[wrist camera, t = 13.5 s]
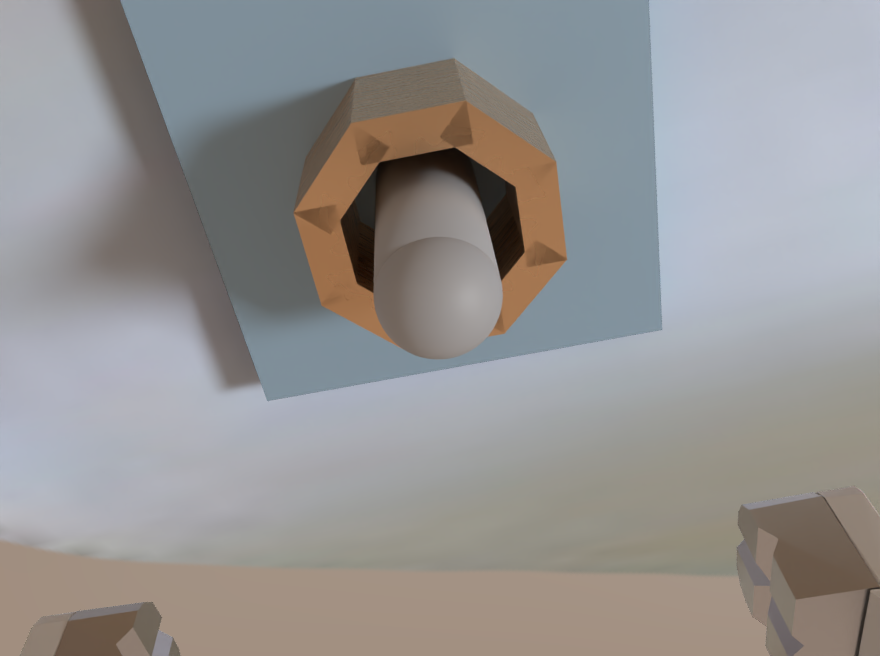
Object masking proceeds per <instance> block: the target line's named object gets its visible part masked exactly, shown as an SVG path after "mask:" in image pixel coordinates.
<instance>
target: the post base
mask: <svg viewBox="0 0 880 656" xmlns="http://www.w3.org/2000/svg"><path fill="white" fill-rule="evenodd" d="M120 1H121V4H122V6H123V9H124V12H125V14H126V17H127V20H128V23H129V25H130V28H131V31H132V34H133V36H134V39H135V42H136V44H137V47H138V50H139V53H140V55H141V58H142V61H143V64H144V66H145V69H146V72H147V74H148V77H149V80H150V83H151V85H152V88H153V91H154V93H155V96H156V99H157V102H158V104H159V107H160V110H161V113H162V115H163V118H164V121H165V123H166V126H167V129H168V132H169V134H170V137H171V140H172V142H173V145H174V148H175V151H176V153H177V156H178V159H179V162H180V164H181V167H182V170H183V172H184V175H185V178H186V181H187V183H188V186H189V189H190V192H191V194H192V197H193V200H194V202H195V205H196V208H197V211H198V213H199V216H200V219H201V221H202V224H203V227H204V230H205V232H206V235H207V238H208V241H209V243H210V246H211V249H212V251H213V254H214V257H215V260H216V262H217V265H218V268H219V270H220V273H221V276H222V279H223V281H224V284H225V287H226V290H227V292H228V295H229V298H230V300H231V303H232V306H233V309H234V311H235V314H236V317H237V319H238V322H239V325H240V328H241V330H242V333H243V336H244V339H245V341H246V344H247V347H248V349H249V352H250V355H251V358H252V360H253V363H254V366H255V369H256V371H257V374H258V377H259V379H260V382H261V385H262V388H263V390H264V393H265V396H266V398H267V401H270V400H276V399H282V398H287V397H293V396H298V395H304V394H309V393H315V392H320V391H326V390H331V389H337V388H343V387H348V386H354V385H359V384H365V383H370V382H376V381H381V380H387V379H392V378H398V377H404V376H409V375H415V374H420V373H426V372H431V371H437V370H442V369H448V368H453V367H459V366H464V365H470V364H476V363H481V362H487V361H492V360H498V359H503V358H509V357H514V356H520V355H525V354H531V353H537V352H542V351H548V350H553V349H559V348H564V347H570V346H575V345H581V344H586V343H592V342H598V341H603V340H609V339H614V338H620V337H625V336H631V335H636V334H642V333H647V332H653V331H659V330H662V314H661V289H660V264H659V240H658V215H657V190H656V166H655V141H654V117H653V92H652V67H651V43H650V18H649V0H120ZM452 58H454V59H456V60H457V61H459V62H460V63H462V64H463V65H464V66H466V67H467V68H469V69H470V70H472V71H473V72H475V73H476V74H477V75H479V76H480V77H482V78H483V79H485V80H486V81H487V82H489V83H490V84H492V85H493V86H495V87H496V88H497V89H499V90H500V91H502V92H503V93H505V94H506V95H508V96H509V97H510V98H512V99H513V100H515V101H516V102H518V103H519V104H520V105H522V106H523V107H525V108H526V109H528V110H529V111H530V112H532V113H533V115H534V117H535V119H536V121H537V123H538V125H539V127H540V129H541V131H542V133H543V135H544V137H545V139H546V141H547V144H548V146H549V148H550V150H551V152H552V154H553V156H554V158H555V160H556V162H557V163H556V164H557V173H558V182H559V191H560V200H561V208H562V217H563V226H564V235H565V244H566V253H567V260H566V261H565V263H564V264H563V265H562V266H561V267H560V269H559V270H558V271H557V272H556V273H555V275H554V276H553V277H552V278H551V279H550V280H549V282H548V283H547V284H546V285H545V286H544V288H543V289H542V290H541V291H540V292H539V294H538V295H537V296H536V297H535V298H534V299H533V301H532V302H531V303H530V304H529V305H528V307H527V308H526V309H525V310H524V311H523V312H522V314H521V315H520V316H519V317H518V318H517V320H516V321H515V322H514V323H513V324H512V326H511V327H510V328H509V329H508V330H507V331H506V333H505V334H500V335H495V336H489V337H488V335H489V334H490V333H491V331H492V330H493V328H494V326H495V325H496V323H497V320H498V318H499V315H500V312H501V307H502V300H503V291H502V282H501V278H500V274H499V270H498V266H497V262H496V258H495V254H494V250H493V246H492V242H491V238H490V234H489V230H488V226H487V222H486V219H487V218H488V217H489V215H490V214H491V213H492V211H493V210H494V209H495V207H496V206H497V205H498V204H499V202H500V201H501V200H502V198H503V197H504V196H505V194H506V189H505V182H504V179H503V178H501V177H500V176H498V175H497V174H495V173H493V172H492V171H490V170H489V169H487V168H486V167H484V166H483V165H481V164H480V163H478V162H477V161H475V160H474V159H472V158H470V157H469V156H467V155H466V154H464V153H463V152H461V151H460V150H458V149H457V148H455V147H454V148H449V149H444V150H438V151H433V152H428V153H423V154H418V155H413V156H408V157H403V158H398V159H392V160H387V161H382V162H379V164H378V165H377V167H376V168H375V170H374V171H373V172H372V174H371V175H370V177H369V178H368V180H367V181H366V183H365V184H364V186H363V187H362V189H361V190H360V192H359V193H358V195H357V196H356V198H355V202H356V206H357V210H358V214H359V218H360V222H362V223H364V224H365V225H367V226H369V227H371V228H372V229H374V230H375V246H374V305H375V311H376V314H377V317H378V320H379V322H380V324H381V326H382V328H383V329H384V331H385V332H386V334H387V335H388V336H389V337H390V338H391V340H392V341H393V342H394V343H396V344H397V345H398V346H399V347H398V346H396V345H394V344H392V343H390V342H389V341H387V340H385V339H383V338H381V337H379V336H377V335H376V334H374V333H372V332H370V331H368V330H366V329H364V328H362V327H361V326H359V325H357V324H355V323H353V322H351V321H349V320H348V319H346V318H344V317H342V316H340V315H338V314H336V313H334V312H333V311H331V310H329V309H327V308H325V307H323V306H321V302H320V299H319V295H318V292H317V289H316V286H315V282H314V279H313V276H312V272H311V269H310V266H309V262H308V259H307V256H306V252H305V249H304V246H303V243H302V239H301V236H300V233H299V229H298V226H297V223H296V219H295V216H294V213H293V212H294V208H295V203H296V199H297V194H298V190H299V185H300V181H301V176H302V172H303V167H304V163H305V158H306V156H307V155H308V153H309V152H310V150H311V148H312V147H313V145H314V144H315V142H316V140H317V139H318V137H319V136H320V134H321V133H322V131H323V129H324V128H325V126H326V125H327V123H328V121H329V120H330V118H331V117H332V115H333V113H334V112H335V110H336V109H337V107H338V105H339V104H340V102H341V101H342V99H343V98H344V96H345V94H346V93H347V91H348V90H349V88H350V86H351V85H352V83H353V82H354V80H355V78H357V77H362V76H367V75H372V74H377V73H382V72H387V71H392V70H397V69H402V68H407V67H412V66H417V65H422V64H427V63H432V62H437V61H442V60H447V59H452ZM400 347H401V348H400Z"/></svg>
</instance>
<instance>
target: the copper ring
mask: <svg viewBox="0 0 880 656" xmlns="http://www.w3.org/2000/svg"><path fill="white" fill-rule="evenodd" d="M454 147H455V148H457V149H458V150H460V151H461V152H463V153H464V154H466V155H467V156H469V157H470V158H472V159H474V160H475V161H477V162H478V163H480V164H481V165H483V166H484V167H486V168H487V169H489V170H490V171H492V172H493V173H495V174H497V175H498V176H500V177H501V178H503V179H504V182H505V189H506V194H505V196H504V197H503V198H502V200H501V201H500V202H499V204H498V205H497V206H496V207H495V209H494V210H493V211H492V213H491V214H490V215H489V217H488V218H487V219H486V222H487V226H488V230H489V234H490V238H491V242H492V246H493V250H494V254H495V258H496V262H497V266H498V270H499V274H500V278H501V282H502V291H503V300H502V307H501V312H500V315H499V318H498V320H497V323H496V325H495V326H494V328H493V330H492V331H491V333H490V334H489V335H488V337H489V336H495V335H500V334H505V333H506V331H507V330H508V329H509V328H510V327H511V326H512V324H513V323H514V322H515V321H516V320H517V318H518V317H519V316H520V315H521V314H522V312H523V311H524V310H525V309H526V308H527V307H528V305H529V304H530V303H531V302H532V301H533V299H534V298H535V297H536V296H537V295H538V294H539V292H540V291H541V290H542V289H543V288H544V286H545V285H546V284H547V283H548V282H549V280H550V279H551V278H552V277H553V276H554V275H555V273H556V272H557V271H558V270H559V269H560V267H561V266H562V265H563V264H564V263H565V261H566V260H567V253H566V244H565V235H564V226H563V217H562V208H561V200H560V191H559V182H558V173H557V164H556V163H557V162H556V160H555V158H554V156H553V154H552V152H551V150H550V148H549V146H548V144H547V141H546V139H545V137H544V135H543V133H542V131H541V129H540V127H539V125H538V123H537V121H536V119H535V117H534V115H533V113H532V112H530V111H529V110H528V109H526V108H525V107H523V106H522V105H520V104H519V103H518V102H516V101H515V100H513V99H512V98H510V97H509V96H508V95H506V94H505V93H503V92H502V91H500V90H499V89H497V88H496V87H495V86H493V85H492V84H490V83H489V82H487V81H486V80H485V79H483V78H482V77H480V76H479V75H477V74H476V73H475V72H473V71H472V70H470V69H469V68H467V67H466V66H464V65H463V64H462V63H460V62H459V61H457V60H456V59H454V58H452V59H447V60H442V61H437V62H432V63H427V64H422V65H417V66H412V67H407V68H402V69H397V70H392V71H387V72H382V73H377V74H372V75H367V76H362V77H357V78H355V80H354V82H353V83H352V85H351V86H350V88H349V90H348V91H347V93H346V94H345V96H344V98H343V99H342V101H341V102H340V104H339V105H338V107H337V109H336V110H335V112H334V113H333V115H332V117H331V118H330V120H329V121H328V123H327V125H326V126H325V128H324V129H323V131H322V133H321V134H320V136H319V137H318V139H317V140H316V142H315V144H314V145H313V147H312V148H311V150H310V152H309V153H308V155H307V156H306V158H305V163H304V167H303V172H302V176H301V181H300V185H299V190H298V194H297V199H296V203H295V208H294V212H293V213H294V216H295V219H296V223H297V226H298V229H299V233H300V236H301V239H302V243H303V246H304V249H305V252H306V256H307V259H308V262H309V266H310V269H311V272H312V276H313V279H314V282H315V286H316V289H317V292H318V295H319V299H320V302H321V306H323V307H325V308H327V309H329V310H331V311H333V312H334V313H336V314H338V315H340V316H342V317H344V318H346V319H348V320H349V321H351V322H353V323H355V324H357V325H359V326H361V327H362V328H364V329H366V330H368V331H370V332H372V333H374V334H376V335H377V336H379V337H381V338H383V339H385V340H387V341H389V342H390V343H392V344H394V345H396V346H398V345H397V344H396V343H394V342H393V341H392V340H391V338H390V337H389V336H388V335H387V334H386V332H385V331H384V329H383V328H382V326H381V324H380V322H379V320H378V317H377V314H376V311H375V305H374V246H375V230H374V229H372V228H371V227H369V226H367V225H365V224H364V223H362V222H360V218H359V214H358V210H357V206H356V202H355V198H356V196H357V195H358V193H359V192H360V190H361V189H362V187H363V186H364V184H365V183H366V181H367V180H368V178H369V177H370V175H371V174H372V172H373V171H374V170H375V168H376V167H377V165H378V164H379V162H382V161H387V160H392V159H398V158H403V157H408V156H413V155H418V154H423V153H428V152H433V151H438V150H444V149H449V148H454ZM398 347H399V346H398ZM400 348H401V347H400Z"/></svg>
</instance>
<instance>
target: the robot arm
mask: <svg viewBox="0 0 880 656" xmlns="http://www.w3.org/2000/svg"><path fill="white" fill-rule="evenodd" d="M738 526H739V529H740V531H741V533H742V535H743V537H744V540H743V541H742V542H741V543H740V545H739V546H738V547H737V570H738V575H739V581H740V586H741V588H742V592H743V595H744V598H745V601H746V603H747V605H748V608H749V610H750V612H751V614H752V617H754V618H755V619H757V620H758V621H759V622H761V623H762V624H764V625H765V626H767V631H766V648H767V650H768V652H769V654H770V656H880V515H879V514H878V513H877V511H876V510H875V508H874V507H873V505H872V504H871V503H870V501H869V500H868V498H867V497H866V495H865V494H864V493H863V491H862V490H860V489H859V488H857V487H855V486H852V487H846V488H840V489H834V490H827V491H821V492H817V493H807V494H801V495H795V496H790V497H784V498H778V499H772V500H767V501H761V502H755V503H749V504H744V505H741V507H740V510H739V512H738ZM161 618H162V617H161V615H160V614H159V612H158V611H157V609H156V607H155V605H154V604H153V602H143V603H135V604H129V605H120V606H113V607H106V608H99V609H92V610H84V611H77V612H71V613H64V614H58V615H51V616H43V617H41V618H40V619H39V620H38V621H37V622H36V623H35V624H34V625H33V627H32V628H31V630H30V633H29V635H28V637H27V640H26V642H25V644H24V647H23V649H22V651H21V654H20V656H180V652H179V648H178V647H177V645H176V643H175V641H174V639H173V637H171V636H169V635H167V634H165V633H163V632H161V631H159V626H160V622H161Z"/></svg>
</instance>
